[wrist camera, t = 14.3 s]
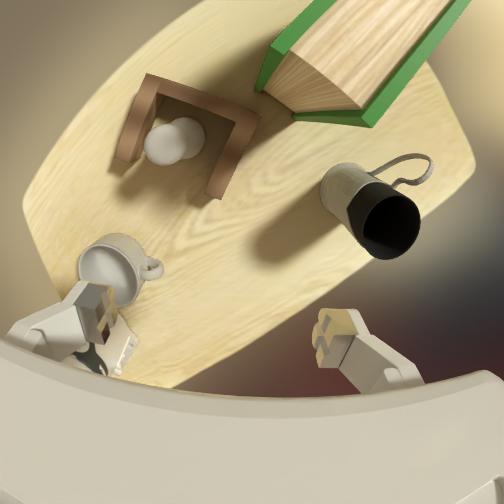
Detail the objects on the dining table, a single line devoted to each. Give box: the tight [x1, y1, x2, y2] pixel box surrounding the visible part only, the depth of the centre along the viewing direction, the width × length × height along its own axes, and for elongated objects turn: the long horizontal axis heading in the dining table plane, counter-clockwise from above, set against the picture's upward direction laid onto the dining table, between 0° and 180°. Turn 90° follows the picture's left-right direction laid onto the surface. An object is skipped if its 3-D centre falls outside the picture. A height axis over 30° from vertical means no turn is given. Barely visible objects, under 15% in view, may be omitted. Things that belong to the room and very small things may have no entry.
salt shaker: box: [144, 117, 205, 166], centre depth 30 cm, size 6×6×13 cm
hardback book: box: [254, 0, 471, 128], centre depth 20 cm, size 18×7×24 cm, turn 144°
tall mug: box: [320, 153, 434, 260], centre depth 32 cm, size 9×14×15 cm, turn 143°
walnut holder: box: [114, 73, 261, 200], centre depth 33 cm, size 12×16×4 cm
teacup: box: [78, 233, 164, 308], centre depth 40 cm, size 14×11×8 cm
